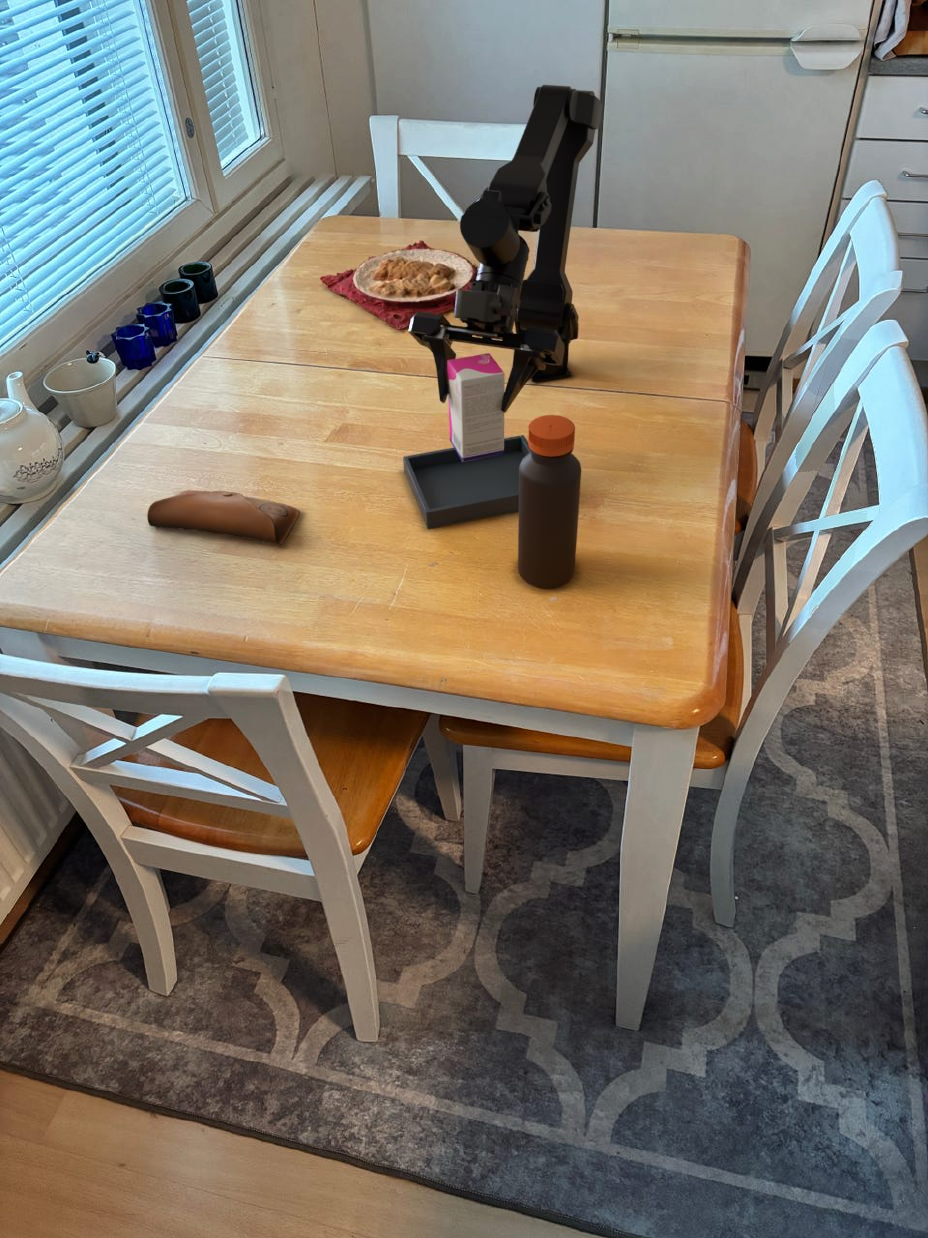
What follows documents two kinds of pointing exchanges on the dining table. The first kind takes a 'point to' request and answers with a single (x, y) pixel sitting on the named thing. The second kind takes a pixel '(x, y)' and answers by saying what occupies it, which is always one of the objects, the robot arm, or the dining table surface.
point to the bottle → (548, 503)
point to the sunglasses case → (225, 515)
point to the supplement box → (476, 406)
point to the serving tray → (465, 483)
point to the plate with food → (406, 282)
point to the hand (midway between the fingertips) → (472, 406)
